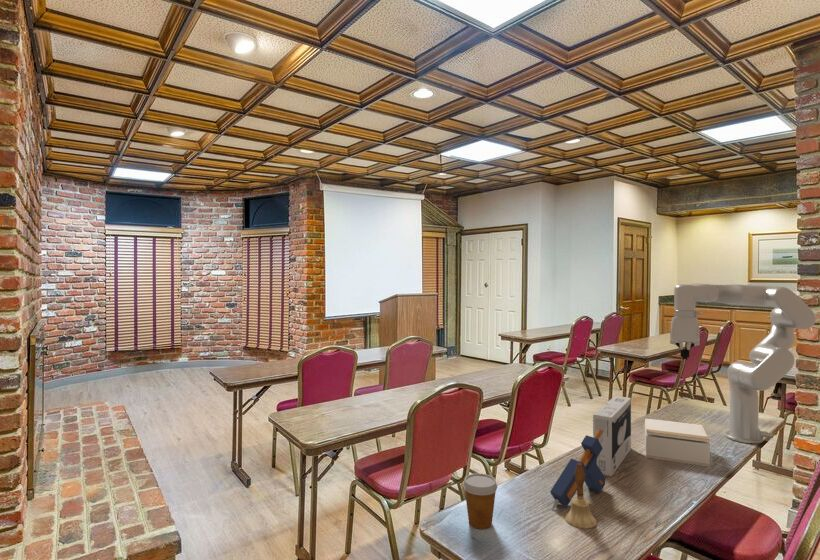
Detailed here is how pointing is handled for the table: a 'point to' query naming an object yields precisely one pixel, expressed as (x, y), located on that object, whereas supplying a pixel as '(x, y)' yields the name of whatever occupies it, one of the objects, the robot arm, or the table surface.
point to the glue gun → (593, 474)
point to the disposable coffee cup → (480, 499)
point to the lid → (676, 430)
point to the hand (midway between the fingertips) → (684, 358)
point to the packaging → (613, 433)
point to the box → (677, 449)
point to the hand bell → (580, 505)
